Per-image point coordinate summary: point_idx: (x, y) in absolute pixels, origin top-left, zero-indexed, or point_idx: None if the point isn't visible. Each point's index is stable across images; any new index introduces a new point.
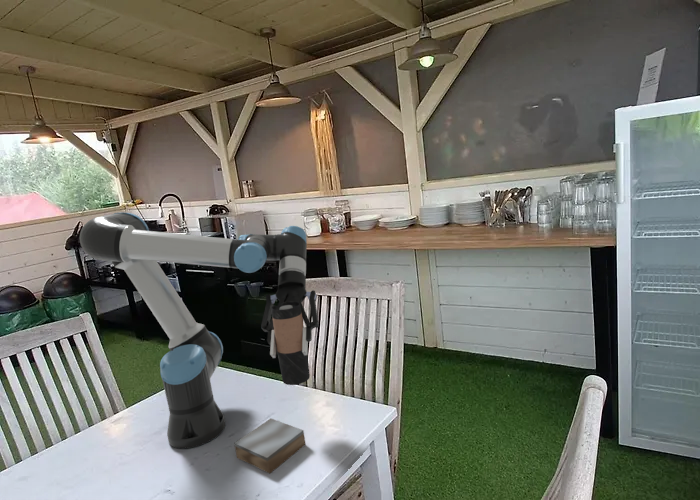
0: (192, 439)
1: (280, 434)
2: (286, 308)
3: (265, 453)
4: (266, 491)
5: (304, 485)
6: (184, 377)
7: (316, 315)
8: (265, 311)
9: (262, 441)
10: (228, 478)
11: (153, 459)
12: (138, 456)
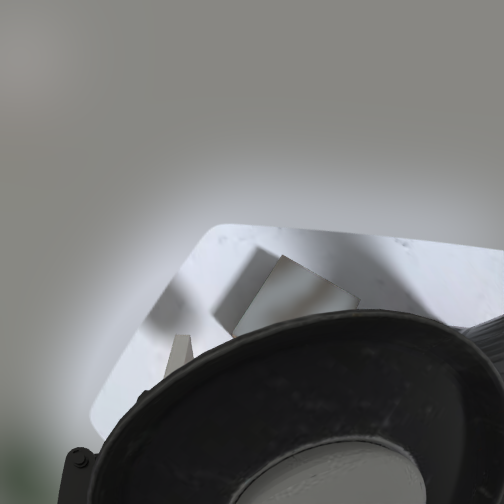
0: None
1: (278, 321)
2: (313, 472)
3: (289, 265)
4: (270, 231)
5: (215, 238)
6: None
7: (61, 499)
8: (501, 500)
9: (308, 301)
10: (339, 260)
11: (458, 304)
12: (476, 310)
